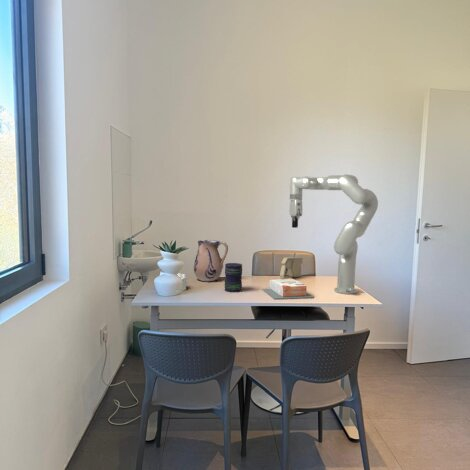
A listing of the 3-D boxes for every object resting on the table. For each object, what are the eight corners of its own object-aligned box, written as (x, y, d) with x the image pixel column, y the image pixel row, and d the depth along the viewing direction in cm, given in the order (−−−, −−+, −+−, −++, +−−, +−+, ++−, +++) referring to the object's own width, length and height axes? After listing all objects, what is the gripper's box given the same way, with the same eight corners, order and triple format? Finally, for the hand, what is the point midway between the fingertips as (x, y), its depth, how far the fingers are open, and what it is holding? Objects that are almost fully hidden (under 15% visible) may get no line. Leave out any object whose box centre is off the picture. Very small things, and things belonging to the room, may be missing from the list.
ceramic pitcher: (194, 277, 269) (195, 239, 266) (227, 277, 270) (227, 239, 267) (192, 282, 251) (193, 242, 249) (227, 283, 252) (228, 242, 250)
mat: (313, 298, 221) (313, 297, 221) (274, 299, 216) (274, 298, 216) (298, 288, 242) (298, 287, 242) (262, 290, 237) (262, 288, 237)
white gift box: (186, 286, 241) (186, 272, 240) (186, 291, 228) (186, 276, 227) (167, 286, 240) (168, 272, 239) (167, 292, 227) (167, 276, 226)
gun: (283, 281, 261) (285, 258, 261) (278, 281, 263) (280, 257, 263) (301, 279, 281) (303, 257, 281) (297, 278, 283) (298, 257, 283)
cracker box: (291, 277, 242) (307, 285, 222) (291, 287, 243) (306, 296, 223) (269, 278, 238) (283, 286, 218) (268, 288, 239) (282, 297, 219)
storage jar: (228, 287, 241) (229, 257, 239) (244, 289, 237) (245, 258, 235) (221, 291, 231) (222, 259, 230) (238, 293, 228) (238, 261, 226)
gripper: (306, 197, 246) (305, 228, 248) (296, 197, 260) (295, 226, 262) (294, 197, 244) (293, 228, 246) (285, 197, 258) (284, 226, 260)
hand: (294, 227), depth 254 cm, fingers closed
